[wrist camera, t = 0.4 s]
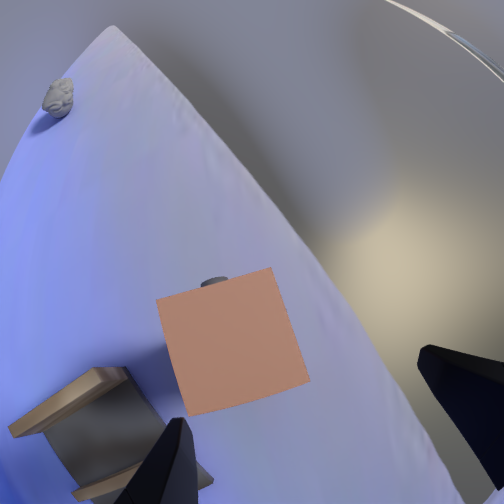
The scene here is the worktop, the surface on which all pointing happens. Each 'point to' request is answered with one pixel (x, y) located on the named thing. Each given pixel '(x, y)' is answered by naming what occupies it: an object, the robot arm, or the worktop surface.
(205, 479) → the cleat board
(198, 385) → the cabinet block
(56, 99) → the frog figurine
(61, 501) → the worktop surface
